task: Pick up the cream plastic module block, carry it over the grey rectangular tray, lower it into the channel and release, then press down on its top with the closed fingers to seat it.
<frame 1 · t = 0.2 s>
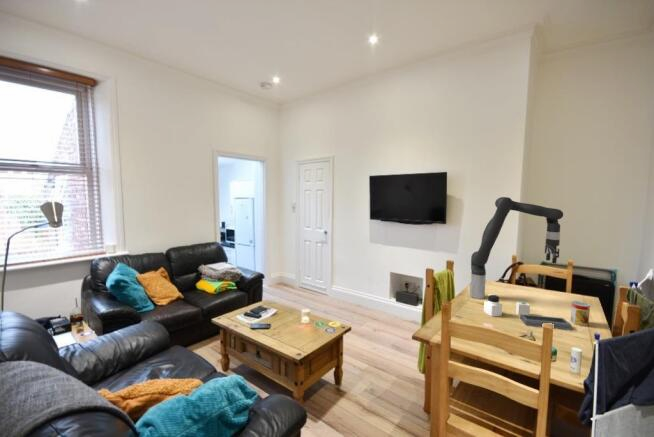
hand: (551, 261, 197), 29 cm above the table, fingers open, 8 cm apart
grey rectangular tray: (544, 324, 168), on the table
module: (522, 314, 182), on the table
canned food: (579, 323, 169), on the table
medicine bottle: (492, 314, 182), on the table
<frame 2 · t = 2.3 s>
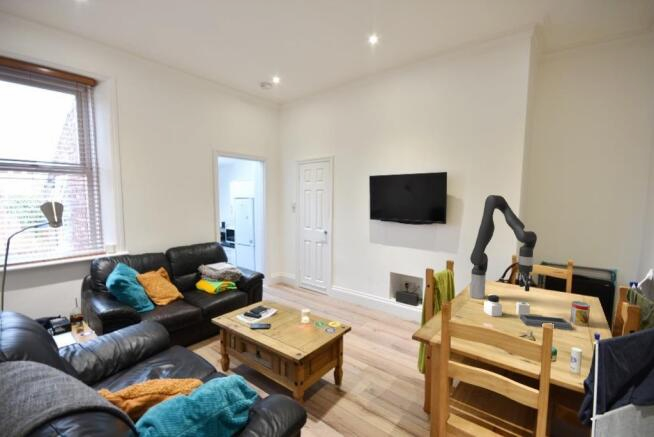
hand: (524, 288, 180), 16 cm above the table, fingers open, 8 cm apart
nothing on the table moved.
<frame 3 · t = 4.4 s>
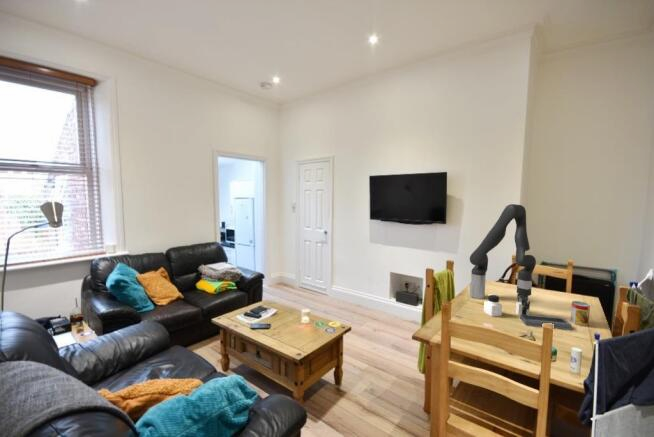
hand: (522, 313, 182), 1 cm above the table, fingers closed on module, 4 cm apart
module: (522, 314, 182), on the table, touching gripper
everything else where it was.
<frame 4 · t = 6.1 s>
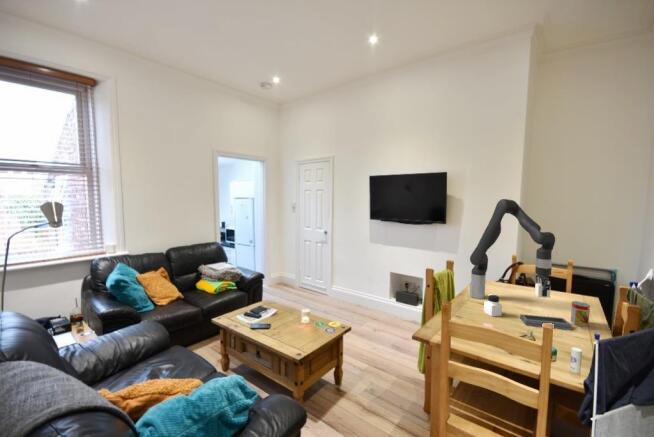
hand: (542, 295, 169), 16 cm above the table, fingers closed on module, 4 cm apart
module: (542, 296, 169), point 16 cm above the table, touching gripper
everything else where it was.
when the fingers open (3 cm above the table, at t = 8.0 s): module drops 2 cm, resting on grey rectangular tray.
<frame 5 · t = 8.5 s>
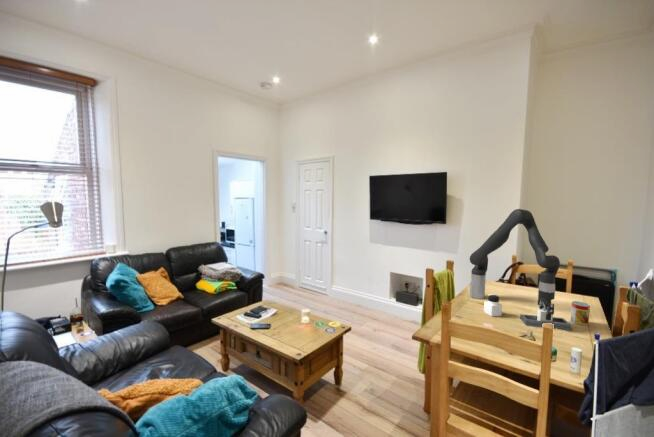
hand: (544, 316, 168), 4 cm above the table, fingers open, 8 cm apart
module: (544, 322, 168), point 1 cm above the table, touching grey rectangular tray
everything else where it was.
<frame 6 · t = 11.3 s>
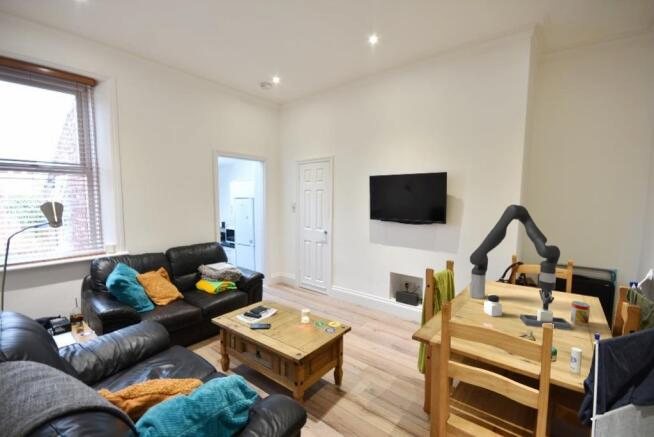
hand: (545, 309, 167), 9 cm above the table, fingers closed
module: (544, 322, 168), point 1 cm above the table, touching gripper, grey rectangular tray
everything else where it was.
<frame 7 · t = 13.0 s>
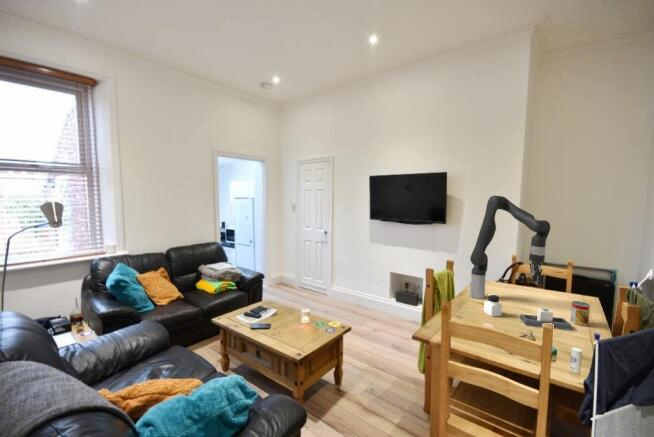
hand: (534, 281, 175), 23 cm above the table, fingers closed
module: (544, 322, 168), point 1 cm above the table, touching grey rectangular tray
everything else where it was.
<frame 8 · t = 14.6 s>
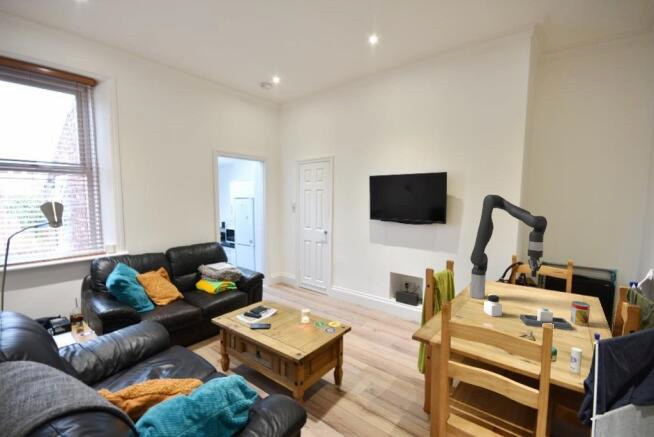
hand: (533, 276, 176), 25 cm above the table, fingers closed
nothing on the table moved.
at the end: module inside the target area on the grey rectangular tray (0.0 cm from its centre), point 1.0 cm above the grey rectangular tray's base; module tilted 0°; the gripper is holding nothing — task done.
